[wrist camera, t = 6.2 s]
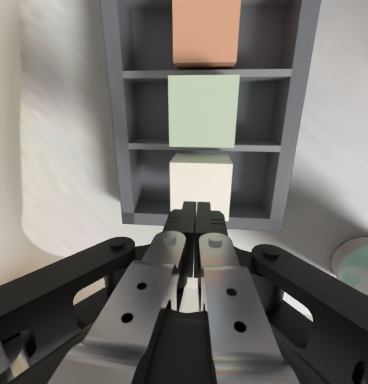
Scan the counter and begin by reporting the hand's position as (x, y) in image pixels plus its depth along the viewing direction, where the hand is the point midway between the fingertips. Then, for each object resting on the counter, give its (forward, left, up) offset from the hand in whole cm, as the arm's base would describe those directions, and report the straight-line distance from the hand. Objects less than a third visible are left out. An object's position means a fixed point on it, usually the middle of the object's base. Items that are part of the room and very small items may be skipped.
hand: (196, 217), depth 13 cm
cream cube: (0, 0, -7) cm, 8 cm away
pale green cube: (0, -5, -8) cm, 9 cm away
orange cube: (0, -11, -10) cm, 15 cm away
